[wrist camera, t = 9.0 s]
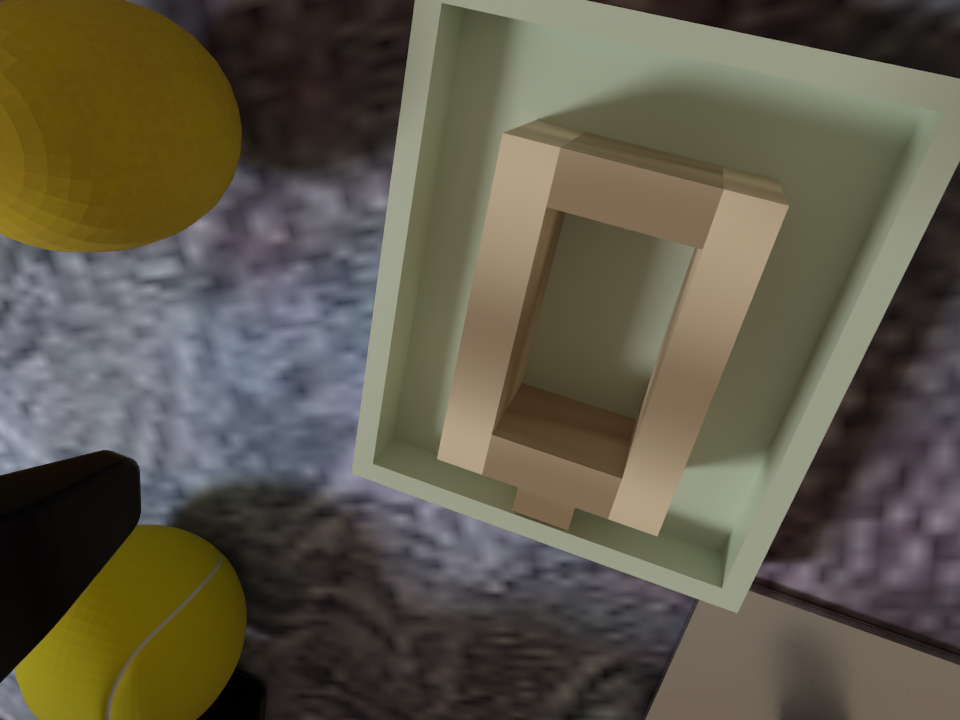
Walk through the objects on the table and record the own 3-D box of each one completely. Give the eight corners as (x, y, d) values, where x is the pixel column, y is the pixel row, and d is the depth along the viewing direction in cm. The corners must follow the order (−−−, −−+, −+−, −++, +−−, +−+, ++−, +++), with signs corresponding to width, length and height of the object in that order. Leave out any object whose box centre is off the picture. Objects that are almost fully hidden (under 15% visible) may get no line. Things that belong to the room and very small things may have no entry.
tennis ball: (278, 513, 25) (135, 663, 19) (287, 657, 28) (167, 828, 22) (114, 470, 27) (-65, 595, 21) (139, 610, 30) (-11, 756, 24)
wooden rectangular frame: (536, 119, 17) (502, 132, 14) (777, 179, 16) (789, 205, 13) (462, 457, 21) (425, 514, 18) (646, 521, 20) (635, 592, 17)
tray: (735, 564, 20) (737, 613, 19) (380, 440, 22) (351, 473, 21) (962, 81, 14) (996, 86, 13) (451, -27, 16) (419, -35, 15)
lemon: (283, -3, 18) (4, -36, 11) (310, 216, 20) (92, 305, 13) (107, 7, 19) (-237, -16, 12) (149, 209, 22) (-123, 286, 15)
